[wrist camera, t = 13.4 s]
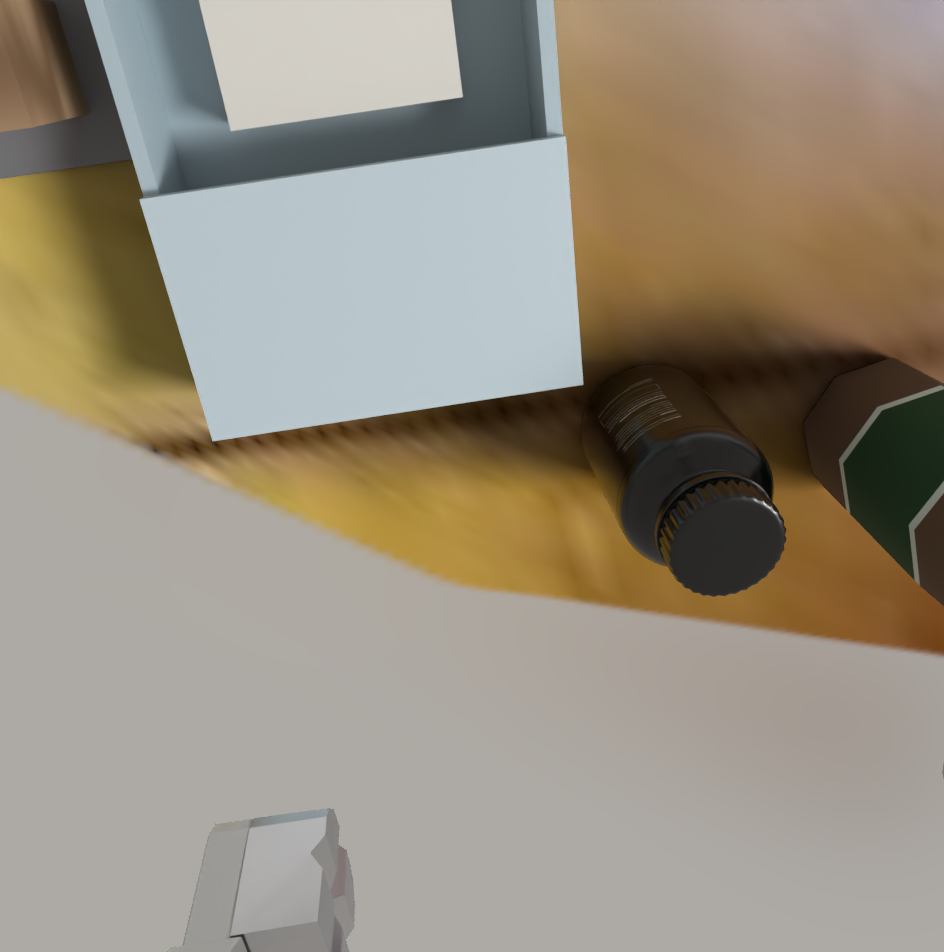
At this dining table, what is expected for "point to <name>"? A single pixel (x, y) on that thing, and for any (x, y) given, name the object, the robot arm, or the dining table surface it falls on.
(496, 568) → the dining table surface
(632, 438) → the supplement bottle
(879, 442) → the beer bottle
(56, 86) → the walnut block
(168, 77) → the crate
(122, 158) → the pad
